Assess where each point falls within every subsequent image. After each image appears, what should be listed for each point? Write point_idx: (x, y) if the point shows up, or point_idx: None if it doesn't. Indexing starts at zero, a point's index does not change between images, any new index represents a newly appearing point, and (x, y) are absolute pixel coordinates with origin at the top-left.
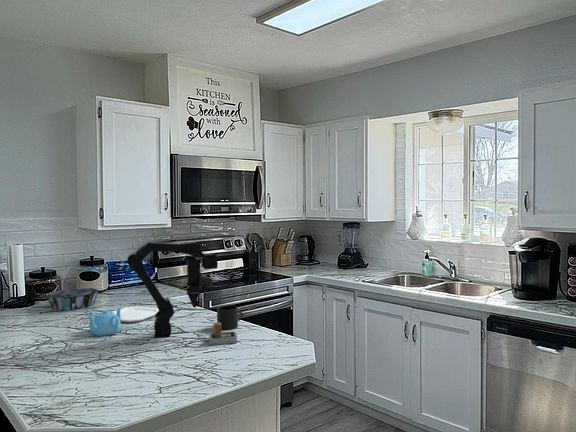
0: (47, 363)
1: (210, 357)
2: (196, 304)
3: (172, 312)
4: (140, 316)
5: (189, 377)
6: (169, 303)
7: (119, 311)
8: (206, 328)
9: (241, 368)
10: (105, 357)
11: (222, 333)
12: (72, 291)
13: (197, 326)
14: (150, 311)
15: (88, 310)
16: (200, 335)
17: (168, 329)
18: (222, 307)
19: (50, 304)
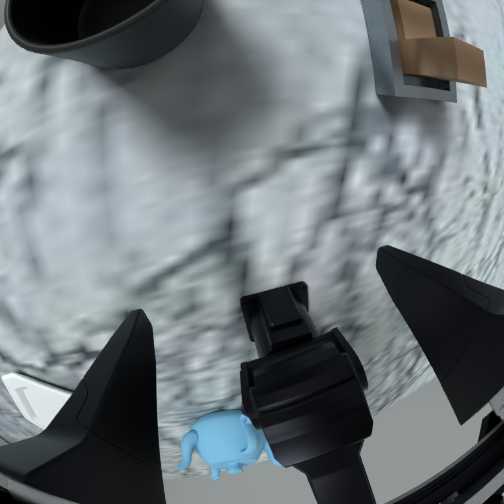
0: (394, 390)
1: (501, 113)
2: (413, 255)
3: (348, 358)
4: None
5: None
6: (368, 413)
7: (189, 459)
8: (152, 131)
9: None
10: (413, 344)
11: (394, 29)
12: None
13: (111, 200)
14: (27, 393)
15: (217, 478)
16: (304, 139)
17: (299, 308)
18: (23, 33)
19: None
